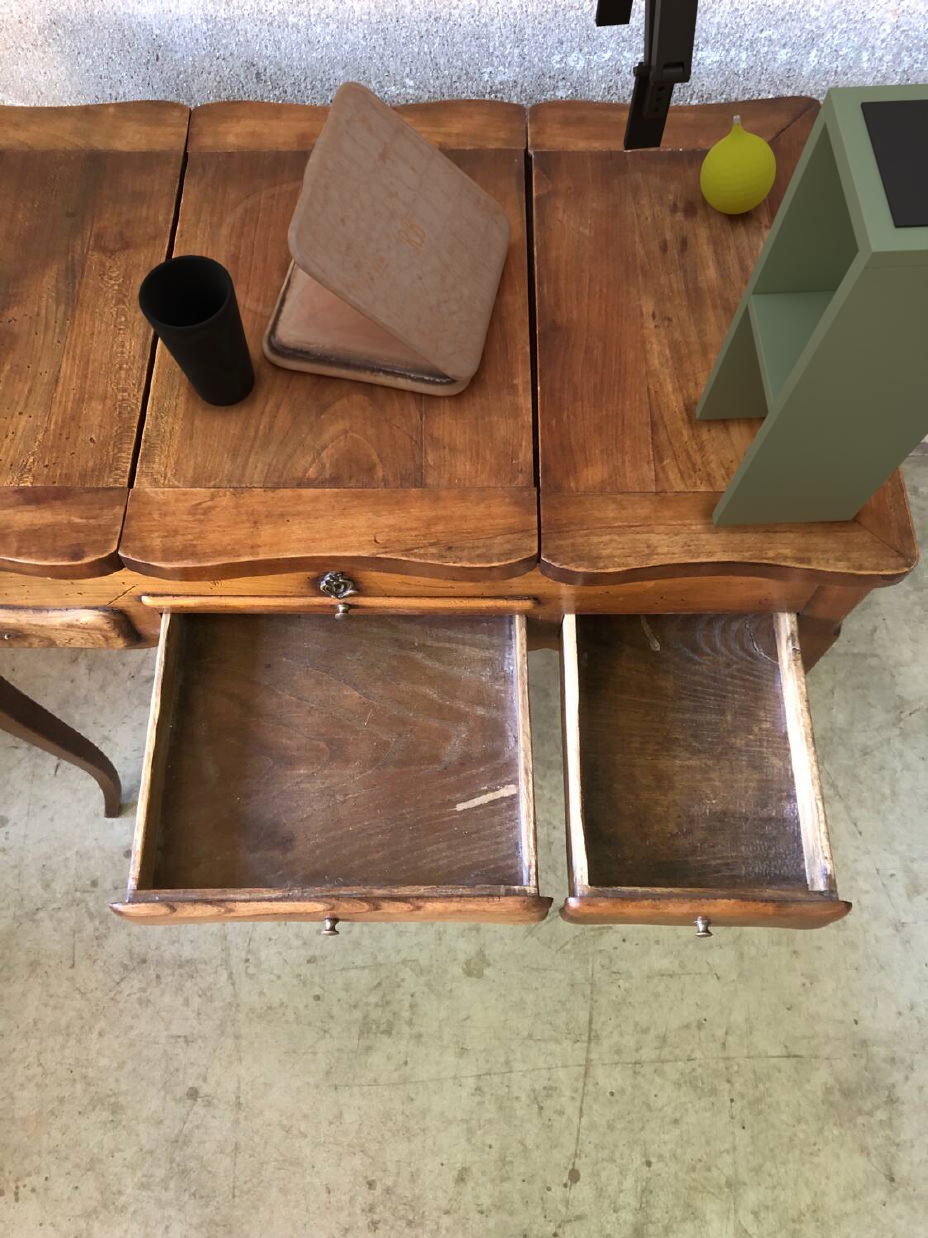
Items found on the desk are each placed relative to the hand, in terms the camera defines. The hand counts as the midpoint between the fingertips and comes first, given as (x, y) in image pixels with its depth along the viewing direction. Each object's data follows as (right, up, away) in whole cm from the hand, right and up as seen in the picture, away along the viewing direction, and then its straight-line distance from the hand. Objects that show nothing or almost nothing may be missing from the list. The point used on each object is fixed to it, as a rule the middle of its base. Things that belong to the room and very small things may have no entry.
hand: (626, 81), depth 68 cm
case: (-20, -12, +16) cm, 28 cm away
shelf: (+15, -29, +9) cm, 33 cm away
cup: (-35, -20, +13) cm, 43 cm away
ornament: (+14, 0, +20) cm, 24 cm away
